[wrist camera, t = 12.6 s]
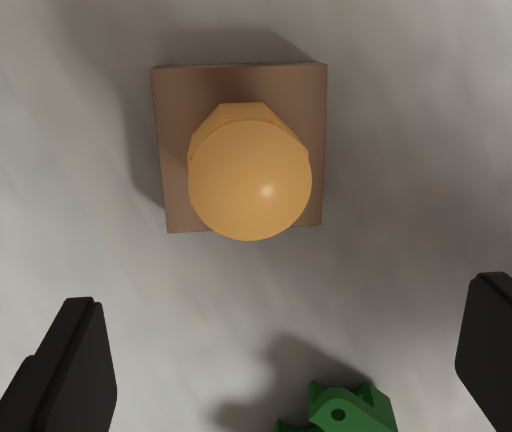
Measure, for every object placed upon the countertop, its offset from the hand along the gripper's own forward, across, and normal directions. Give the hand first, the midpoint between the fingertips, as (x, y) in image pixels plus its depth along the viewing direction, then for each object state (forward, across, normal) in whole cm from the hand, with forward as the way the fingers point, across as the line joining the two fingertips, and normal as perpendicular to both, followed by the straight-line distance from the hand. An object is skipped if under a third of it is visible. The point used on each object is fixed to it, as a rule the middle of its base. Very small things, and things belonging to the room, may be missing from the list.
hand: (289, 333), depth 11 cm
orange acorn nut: (+17, 0, 0) cm, 17 cm away
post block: (+20, 0, 0) cm, 20 cm away
